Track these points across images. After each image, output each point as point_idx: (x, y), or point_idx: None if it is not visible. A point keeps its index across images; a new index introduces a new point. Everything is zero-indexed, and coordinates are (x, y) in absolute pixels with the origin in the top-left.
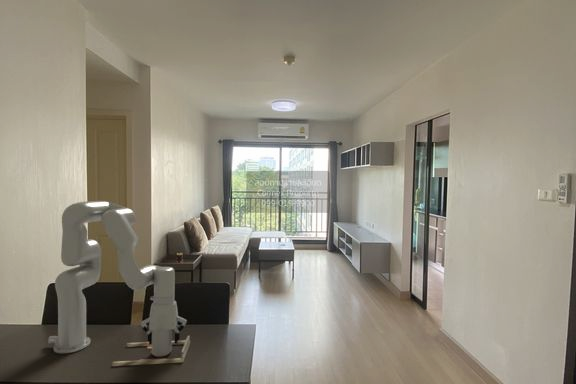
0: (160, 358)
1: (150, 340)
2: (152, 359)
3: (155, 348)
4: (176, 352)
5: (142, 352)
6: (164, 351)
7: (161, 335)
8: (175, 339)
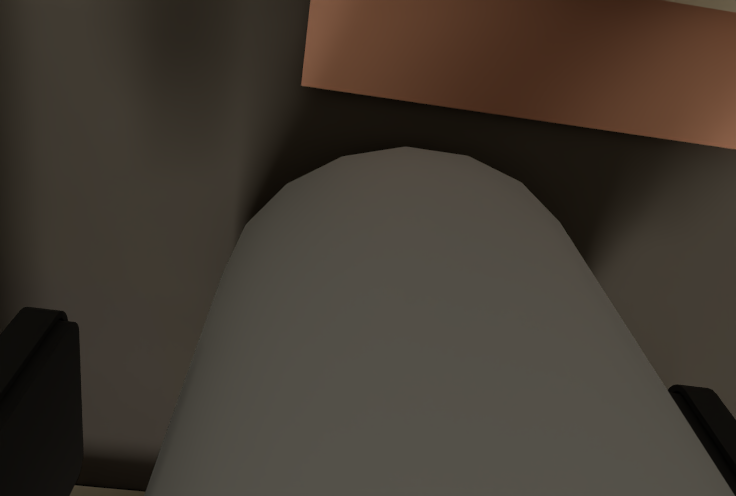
0: (404, 96)
1: (720, 458)
2: (554, 98)
3: (545, 240)
4: (137, 266)
5: (704, 383)
6: (331, 187)
7: (445, 449)
8: (6, 375)
